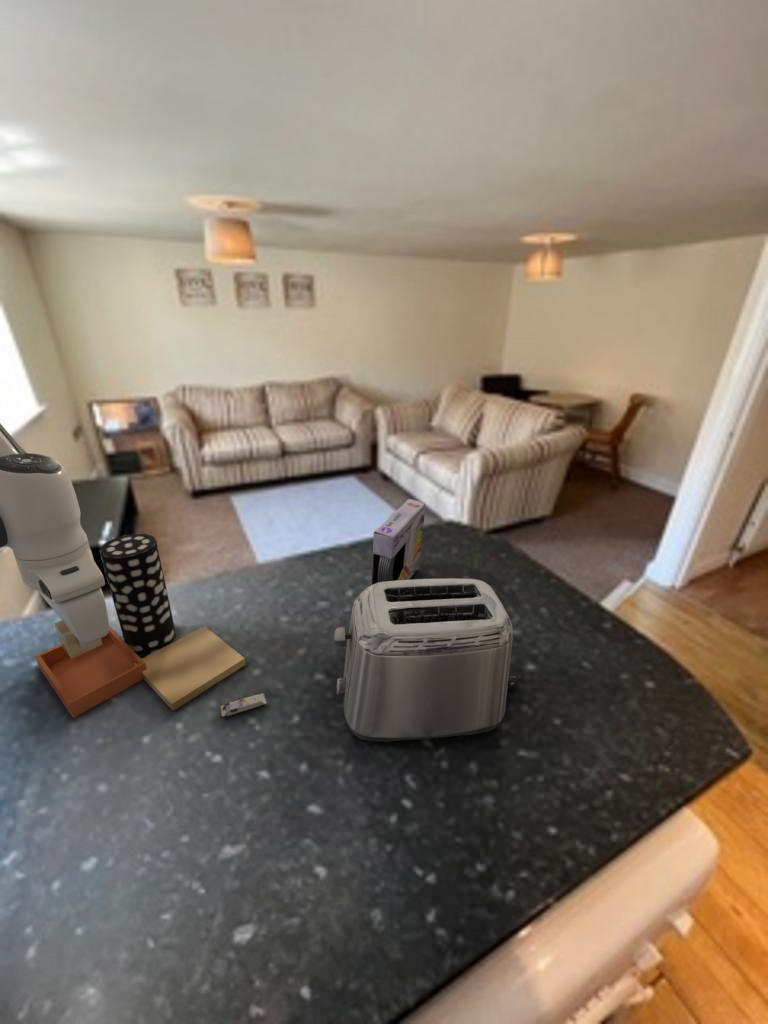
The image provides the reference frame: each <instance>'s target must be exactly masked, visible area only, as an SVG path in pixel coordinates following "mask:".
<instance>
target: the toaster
mask: <svg viewBox="0 0 768 1024" xmlns="http://www.w3.org/2000/svg"><path fill="white" fill-rule="evenodd" d="M513 640H514V630H513V624H512V621H511V618H510V617H509V615H508V612H507V610H506V608H505V607H504V605H503V603H502V602H501V600H500V598H499V597H498V595H497V593H496V592H495V591H494V589H493V588H492V587H491V585H489V584H488V583H487V582H485V581H483V580H481V579H475V578H417V579H410V580H398V581H387V582H380V583H376V584H374V585H372V584H371V585H369V586H368V587H366V588H365V589H364V590H362V591H361V592H360V593H359V594H358V595H357V597H356V598H355V600H354V601H353V605H352V609H351V615H350V622H349V629H348V632H347V629H346V626H339V627H336V629H335V631H334V638H333V641H334V644H335V645H336V646H337V647H345V646H346V651H345V660H344V668H343V669H344V670H343V677H337V679H336V687H335V688H336V689H335V692H336V693H335V694H336V695H337V696H342V697H343V713H344V718H345V721H346V723H347V725H348V728H349V730H350V732H351V733H352V734H353V735H354V736H355V737H356V738H358V739H360V740H362V741H366V742H375V743H377V742H378V743H390V742H391V743H392V742H396V741H409V740H411V741H412V740H413V741H414V740H427V739H441V738H450V737H457V736H473V735H478V734H482V733H489V732H491V731H492V730H495V729H496V728H497V727H498V726H499V725H500V724H501V723H502V721H503V719H504V717H505V714H506V705H507V698H508V697H507V696H508V691H511V687H512V686H514V685H516V682H515V681H512V679H516V678H517V676H515V675H513V676H512V675H511V676H510V669H511V668H510V667H511V659H512V650H513V649H512V648H513ZM346 641H347V643H346ZM511 681H512V682H511Z"/></svg>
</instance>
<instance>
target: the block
mask: <svg viewBox="0 0 768 1024" xmlns="http://www.w3.org/2000/svg"><path fill="white" fill-rule="evenodd" d="M54 628H55V631H56V634H57V637H58V640H59V643H60V645H61V646H62V647H63V649H64V650H65V651H66V652H67V654H68V655H69V656H70V658H71V659H73V658H75V657H77V656H79V655H81V654H83V653H86V652H88V651H90V650H92V649H94V648H96V647H98V646H101V645H102V641H101V638H100V639H98V640H96V641H94V643H93V645H91V646H89V647H87V648H84V649H82V648H81V647H80V646H79V644H78V643H77V639H76V636H75V635H74V634H73V633H72V632H71V630H70V629H69V628H68V627H67V626H66V624H65V623H64V622H63V621H62V620H59V621H57V622H55V623H54Z"/></svg>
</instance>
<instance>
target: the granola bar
mask: <svg viewBox="0 0 768 1024" xmlns="http://www.w3.org/2000/svg"><path fill="white" fill-rule="evenodd" d="M266 704H268V701H267V699H266V696H265V693H264V692H262V693H260V694H259V693H257V694H255V695H251V696H247V697H244V698H240V699H238V700H235V701H231V702H228V703H225V704H222V705H220V706H219V707H220V711H221V717H228V716H229V717H230V716H232V715H235V714H239V713H242V712H246V711H249V710H252V709H255V708H258V707H261V706H262V705H266Z"/></svg>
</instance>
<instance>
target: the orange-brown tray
mask: <svg viewBox="0 0 768 1024" xmlns="http://www.w3.org/2000/svg"><path fill="white" fill-rule="evenodd" d="M101 641H102V645H101V646H98V647H96V648H94V649H92V650H90V651H88V652H86V653H83V654H81V655H79V656H77V657H75V658H73V659H71V658H70V656H69V655H68V654H67V652H66V651H65V650H64V649H63V647H62V646H61V644H59V645H57V646H54V647H52V648H50V649H47V650H45V651H43V652H41V653H38V654H37V655H35V656H34V657H35V660H36V662H37V665H38V669H39V670H40V671H41V673H42V674H43V676H44V677H45V679H46V680H47V681H48V683H49V684H50V686H51V687H52V689H53V690H54V692H55V693H56V695H57V696H58V698H59V700H60V701H61V702H62V704H63V705H64V707H65V708H66V710H67V711H68V713H69V714H70V716H71V717H72V718H73V719H74V718H76V717H78V716H80V715H81V714H83V713H85V712H86V711H89V710H90V709H92V708H95V707H96V706H98V705H99V704H101V703H103V702H105V701H107V700H109V699H110V698H112V697H114V696H116V695H117V694H119V693H121V692H122V691H124V690H126V689H128V688H129V687H132V686H134V685H135V684H137V683H139V682H140V681H143V680H144V679H143V676H142V672H143V671H145V670H146V669H147V667H146V663H145V662H144V661H143V660H142V658H141V657H140V656H138V655H137V654H136V653H135V652H134V651H133V650H132V649H131V648H130V647H129V646H128V645H127V644H126V643H125V641H124V638H123V637H121V636H120V635H119V634H118V633H117V632H116V631H115V630H114V629H113V627H111V626H110V625H109V632H108V634H107V635H106V636H105V637H103V638H101ZM133 663H136V664H137V665H136V666H135V667H134V664H133Z"/></svg>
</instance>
